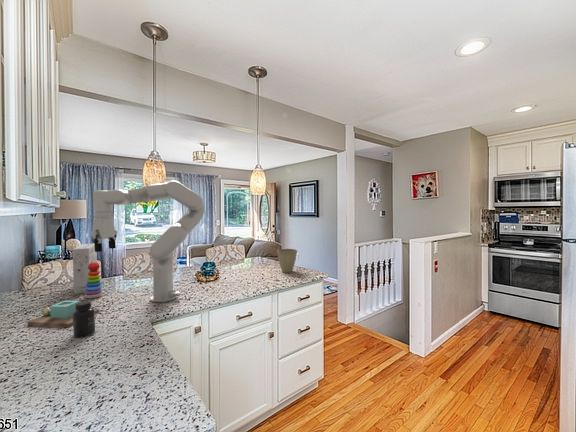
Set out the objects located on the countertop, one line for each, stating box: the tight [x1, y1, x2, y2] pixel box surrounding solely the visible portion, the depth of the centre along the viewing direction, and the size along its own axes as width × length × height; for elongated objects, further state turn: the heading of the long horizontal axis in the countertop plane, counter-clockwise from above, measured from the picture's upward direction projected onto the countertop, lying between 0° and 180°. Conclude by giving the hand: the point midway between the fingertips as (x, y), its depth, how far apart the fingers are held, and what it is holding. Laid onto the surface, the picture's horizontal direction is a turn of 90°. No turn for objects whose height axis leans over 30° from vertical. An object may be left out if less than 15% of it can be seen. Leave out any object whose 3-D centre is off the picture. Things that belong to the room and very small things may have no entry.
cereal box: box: [72, 243, 98, 294], centre depth 165 cm, size 22×8×25 cm, turn 25°
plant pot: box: [276, 248, 298, 273], centre depth 207 cm, size 15×15×16 cm
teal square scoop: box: [42, 300, 81, 318], centre depth 121 cm, size 13×7×5 cm, turn 86°
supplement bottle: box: [72, 300, 96, 338], centre depth 106 cm, size 7×7×12 cm
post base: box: [27, 304, 100, 328], centre depth 121 cm, size 18×16×6 cm
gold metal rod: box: [44, 306, 50, 317], centre depth 119 cm, size 1×1×4 cm
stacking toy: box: [84, 262, 103, 300], centre depth 149 cm, size 8×8×19 cm
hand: (105, 249), depth 138 cm, fingers open, 9 cm apart
